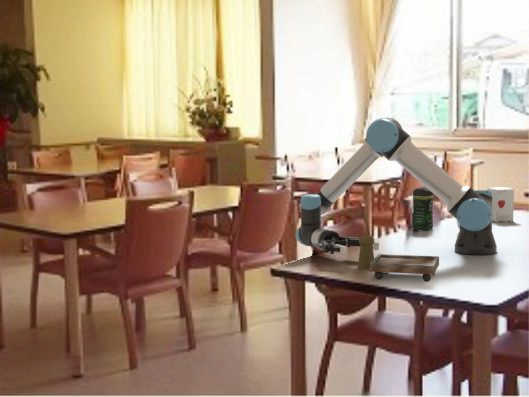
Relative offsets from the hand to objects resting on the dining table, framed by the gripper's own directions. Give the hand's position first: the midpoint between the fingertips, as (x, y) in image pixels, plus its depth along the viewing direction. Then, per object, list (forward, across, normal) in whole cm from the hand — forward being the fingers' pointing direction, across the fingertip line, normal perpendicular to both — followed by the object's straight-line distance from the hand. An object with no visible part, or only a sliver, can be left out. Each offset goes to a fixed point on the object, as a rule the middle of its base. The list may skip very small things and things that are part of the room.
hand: (362, 248), depth 282 cm
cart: (+21, -1, -6) cm, 22 cm away
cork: (+1, 0, -6) cm, 7 cm away
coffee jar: (-44, -68, -7) cm, 81 cm away
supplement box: (-40, -112, -7) cm, 119 cm away
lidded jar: (-26, -77, -7) cm, 82 cm away
